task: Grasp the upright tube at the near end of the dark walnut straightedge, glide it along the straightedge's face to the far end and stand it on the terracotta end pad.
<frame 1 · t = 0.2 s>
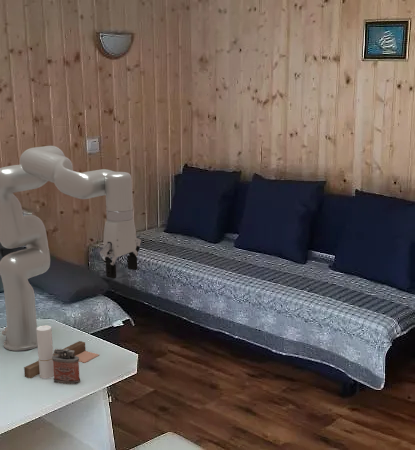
hand: (122, 273, 197), 31 cm above the table, tool pointing down, fingers open, 9 cm apart
tube: (47, 376, 202), on the table
walnut straightedge: (56, 363, 211), on the table
lighter: (67, 382, 198), on the table
end pad: (84, 357, 215), on the table
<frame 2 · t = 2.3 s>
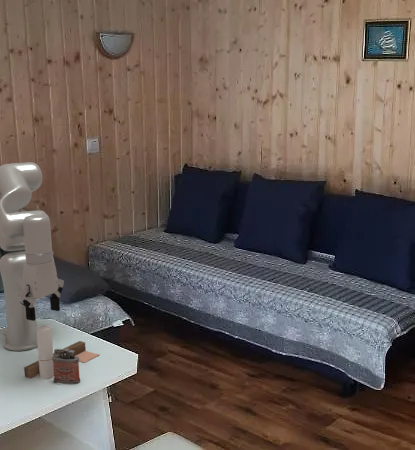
hand: (43, 315, 198), 19 cm above the table, tool pointing down, fingers open, 9 cm apart
nothing on the table moved.
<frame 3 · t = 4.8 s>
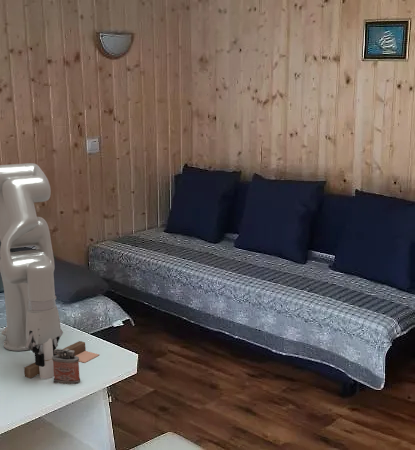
hand: (46, 361, 201), 4 cm above the table, tool pointing down, fingers closed on tube, 4 cm apart
tube: (47, 376, 202), on the table, touching gripper
everything else where it was.
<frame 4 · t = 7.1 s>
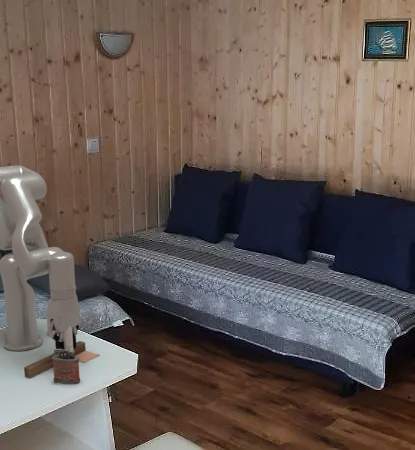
hand: (66, 349, 208), 5 cm above the table, tool pointing down, fingers closed on tube, 4 cm apart
tube: (66, 363, 209), point 1 cm above the table, touching gripper
everything else where it was.
when the fingers open (5 cm above the table, at t = 9.6 s): tube stays where it is, resting on end pad.
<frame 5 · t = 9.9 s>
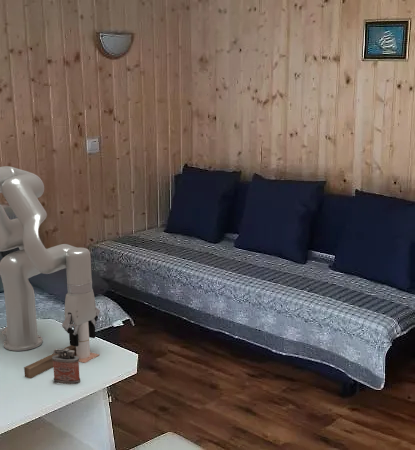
hand: (82, 340, 214), 5 cm above the table, tool pointing down, fingers open, 7 cm apart
tube: (83, 356, 215), resting on end pad
everything else where it was.
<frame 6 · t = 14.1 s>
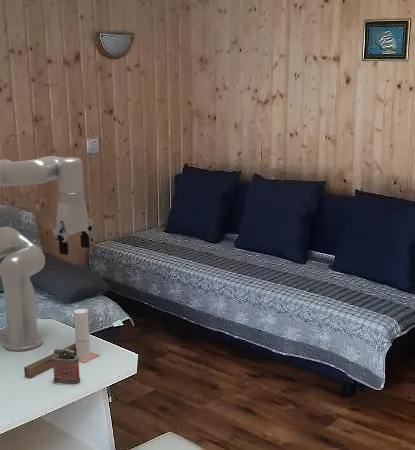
hand: (74, 250, 214), 33 cm above the table, tool pointing down, fingers open, 9 cm apart
nothing on the table moved.
at the end: tube inside the target area (0.7 cm from its centre), on the table; tube tilted 0°; the gripper is holding nothing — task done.
